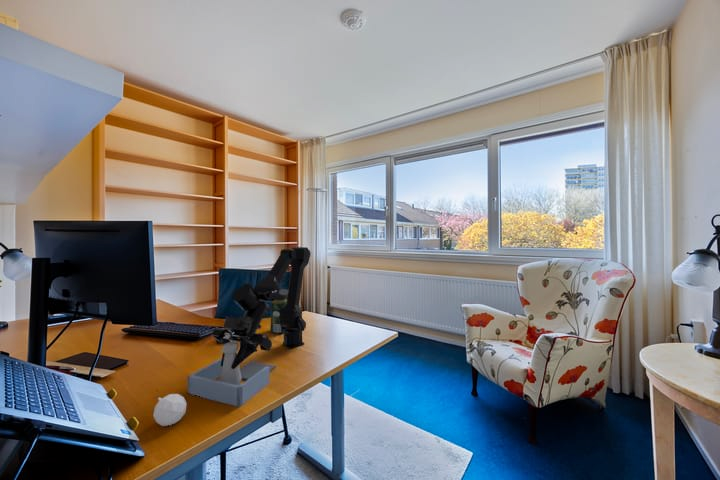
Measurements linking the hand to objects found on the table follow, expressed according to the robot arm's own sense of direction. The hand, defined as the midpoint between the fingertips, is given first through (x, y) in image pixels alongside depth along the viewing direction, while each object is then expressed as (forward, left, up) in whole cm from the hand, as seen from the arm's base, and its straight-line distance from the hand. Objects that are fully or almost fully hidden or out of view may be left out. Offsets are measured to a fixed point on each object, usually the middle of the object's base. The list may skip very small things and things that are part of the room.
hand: (227, 367), depth 84 cm
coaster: (-10, -5, -7) cm, 13 cm away
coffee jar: (-35, -35, -7) cm, 50 cm away
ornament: (+15, +5, -7) cm, 17 cm away
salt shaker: (-1, -1, -7) cm, 7 cm away
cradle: (-1, -1, -7) cm, 7 cm away
